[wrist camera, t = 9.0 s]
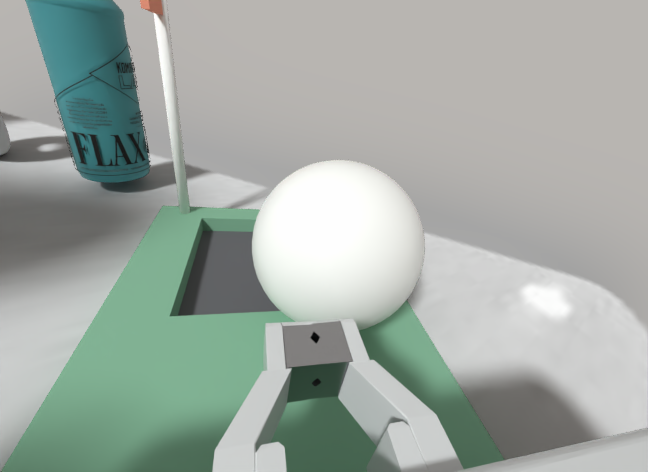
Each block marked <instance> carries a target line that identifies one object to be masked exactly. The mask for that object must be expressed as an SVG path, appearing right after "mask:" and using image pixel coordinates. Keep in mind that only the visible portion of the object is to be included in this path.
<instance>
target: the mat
mask: <svg viewBox="0 0 648 472" xmlns="http://www.w3.org/2000/svg"><path fill="white" fill-rule="evenodd" d="M140 2H141V8H143V9H146V10H148V11H150V12H153V13H154V20H155V27H156V34H157V42H158V50H159V57H160V65H161V72H162V80H163V88H164V95H165V102H166V110H167V118H168V125H169V133H170V140H171V148H172V155H173V163H174V171H175V178H176V186H177V193H178V201H179V206H162V208H161V210H160V211H159V213H158V215H157V216H156V218H155V219H154V221H153V223H152V224H151V226H150V228H149V229H148V231H147V233H146V234H145V236H144V238H143V239H142V241H141V242H140V244H139V246H138V247H137V249H136V251H135V252H134V254H133V256H132V257H131V259H130V261H129V262H128V264H127V265H126V267H125V269H124V270H123V272H122V274H121V275H120V277H119V279H118V280H117V282H116V284H115V285H114V287H113V288H112V290H111V292H110V293H109V295H108V297H107V298H106V300H105V302H104V303H103V305H102V307H101V308H100V310H99V311H98V313H97V315H96V316H95V318H94V320H93V321H92V323H91V325H90V326H89V328H88V330H87V331H86V333H85V334H84V336H83V338H82V339H81V341H80V343H79V344H78V346H77V348H76V349H75V351H74V353H73V354H72V356H71V357H70V359H69V361H68V362H67V364H66V366H65V367H64V369H63V371H62V372H61V374H60V376H59V377H58V379H57V380H56V382H55V384H54V385H53V387H52V389H51V390H50V392H49V394H48V395H47V397H46V399H45V400H44V402H43V403H42V405H41V407H40V408H39V410H38V412H37V413H36V415H35V417H34V418H33V420H32V422H31V423H30V425H29V426H28V428H27V430H26V431H25V433H24V435H23V436H22V438H21V440H20V441H19V443H18V445H17V446H16V448H15V449H14V451H13V453H12V454H11V456H10V458H9V459H8V461H7V463H6V464H5V466H4V468H3V469H2V471H1V472H212V470H213V461H214V452H215V449H216V447H217V446H218V444H219V442H220V441H221V439H222V437H223V436H224V434H225V432H226V431H227V429H228V427H229V426H230V424H231V422H232V421H233V419H234V417H235V416H236V414H237V412H238V411H239V409H240V407H241V406H242V404H243V402H244V401H245V399H246V397H247V396H248V394H249V392H250V391H251V389H252V387H253V386H254V384H255V382H256V381H257V379H258V377H259V376H260V374H261V372H262V371H264V364H263V358H264V335H265V324H266V323H282V322H295V321H294V320H292V319H291V318H289V317H287V316H286V315H285V314H284V313H283V312H281V311H280V310H279V309H278V308H277V307H276V306H275V305H274V304H273V303H272V301H271V300H270V299H269V297H268V296H267V294H266V293H265V291H264V290H263V288H262V286H261V284H260V282H259V280H258V278H257V274H256V271H255V268H254V263H253V256H252V237H253V230H254V225H255V222H256V218H257V216H258V213H259V211H260V210H257V209H232V208H207V207H190V206H189V197H188V188H187V179H186V170H185V161H184V152H183V144H182V136H181V135H182V134H181V126H180V117H179V107H178V98H177V89H176V81H175V72H174V63H173V55H172V54H173V53H172V45H171V35H170V26H169V18H168V9H167V0H140ZM359 333H360V335H361V338H362V341H363V343H364V346H365V349H366V351H367V354H368V356H369V359H370V360H375V361H376V362H377V363H378V364H379V365H381V366H382V367H383V368H384V369H385V370H386V371H387V372H388V373H390V374H391V375H392V376H393V377H394V378H395V379H396V380H398V381H399V382H400V383H401V384H402V385H403V386H404V387H406V388H407V389H408V390H409V391H410V392H411V393H412V394H413V395H415V396H416V397H417V398H418V399H419V400H420V401H421V402H423V403H424V404H425V405H426V406H427V407H428V408H429V409H430V410H432V411H433V412H434V413H435V414H436V415H437V417H438V419H439V421H440V423H441V425H442V427H443V429H444V431H445V433H446V435H447V437H448V439H449V441H450V443H451V445H452V447H453V449H454V451H455V453H456V455H457V457H458V459H459V461H460V463H461V465H462V467H463V469H468V468H472V467H477V466H481V465H485V464H490V463H494V462H499V461H503V460H504V458H503V456H502V455H501V453H500V451H499V450H498V448H497V447H496V445H495V443H494V442H493V440H492V438H491V437H490V435H489V434H488V432H487V430H486V429H485V427H484V425H483V424H482V422H481V421H480V419H479V417H478V416H477V414H476V412H475V411H474V409H473V408H472V406H471V404H470V403H469V401H468V399H467V398H466V396H465V395H464V393H463V391H462V390H461V388H460V386H459V385H458V383H457V382H456V380H455V378H454V377H453V375H452V373H451V372H450V370H449V368H448V367H447V365H446V364H445V362H444V360H443V359H442V357H441V355H440V354H439V352H438V351H437V349H436V347H435V346H434V344H433V342H432V341H431V339H430V338H429V336H428V334H427V333H426V331H425V329H424V328H423V326H422V325H421V323H420V321H419V320H418V318H417V316H416V315H415V313H414V312H413V310H412V308H411V307H410V305H409V303H408V302H407V300H406V301H405V302H404V303H403V304H402V306H401V307H400V308H399V309H398V310H397V311H396V312H394V313H393V314H392V315H391V316H390V317H388V318H386V319H385V320H383V321H382V322H380V323H378V324H376V325H373V326H371V327H369V328H366V329H363V330H359ZM274 442H279V443H280V444H282V445H283V446H284V447H285V459H286V471H287V472H367V468H366V467H367V465H368V463H369V461H370V459H371V457H372V455H373V454H374V452H375V450H376V448H377V447H376V445H375V444H374V443H373V441H372V440H371V439H370V438H369V436H368V435H367V434H366V433H365V431H364V430H363V429H362V428H361V426H360V425H359V424H358V422H357V421H356V420H355V419H354V417H353V416H352V415H351V414H350V412H349V411H348V410H347V408H346V407H345V406H344V405H343V403H342V402H341V401H340V400H339V398H338V396H336V397H326V398H316V399H309V400H302V401H296V402H290V403H287V405H286V407H285V410H284V412H283V414H282V417H281V419H280V421H279V424H278V426H277V429H276V431H275V433H274V436H273V438H272V440H271V443H274Z"/></svg>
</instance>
